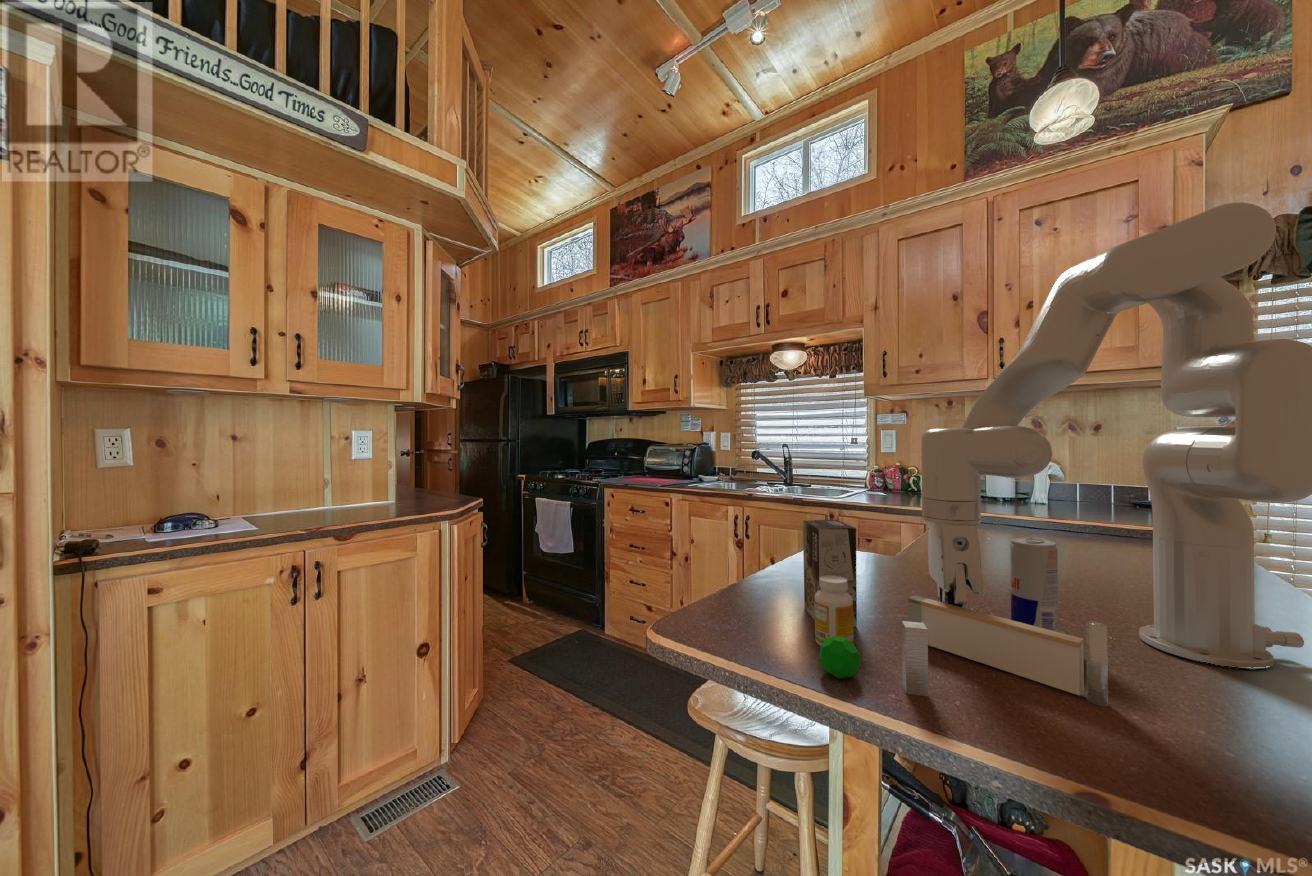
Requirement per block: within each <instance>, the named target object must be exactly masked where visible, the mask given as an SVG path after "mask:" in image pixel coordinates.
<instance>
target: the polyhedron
mask: <svg viewBox="0 0 1312 876" xmlns="http://www.w3.org/2000/svg"><path fill="white" fill-rule="evenodd" d="M818 659H819V661H820V663H821V666H822V668H823V670H824V671H826V672H827V673H829V674H830V675H832V676H833V677H835V678H837V679H848V678H852V677H853V676H854V675H855V674H856V673H857V672H858V671H859V670H860V669H859V668H860V666H861V656H860V653H859V652H858V650H857V648H856V646H855V643H854V642H853V643H851V642H850V641H848V640H847V639H845V638H843V637H841V636H839V637H831V638H828V639H826V640H825V641H824V642H823V643H822V644H821V646H820V648H819V655H818Z"/></svg>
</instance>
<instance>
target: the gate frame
mask: <svg viewBox="0 0 1312 876" xmlns="http://www.w3.org/2000/svg"><path fill="white" fill-rule="evenodd" d="M1085 626H1086V627H1085V631H1086V632H1085V635H1086V636H1085V637H1086V639H1085V640H1086V641H1085V642H1086V700H1087V702H1088V703H1090V704H1092V705H1094V706H1098V707H1108V706H1109V672H1108V671H1109V669H1108V667H1109V665H1108V663H1109V662H1108V659H1109V657H1108V654H1109V653H1108V650H1109V649H1108V648H1109V647H1108V625H1107V624H1105V623H1103V622H1100V621H1099V622H1098V621H1094V620H1093V621H1092V620H1091V621H1090V620H1089V621H1088V620H1087V621H1085ZM901 644H902V645H901V650H902V651H901V653H902V656H901V657H902V660H901V661H902V662H901V663H902V664H901V665H902V666H901V667H902V688H903V690H904V692H905V694H906V695H913V696H923V697H929V645H928V629H927V627H926V626H925V624H924V623H919V622H909V621H907V620H902V621H901Z"/></svg>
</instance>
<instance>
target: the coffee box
mask: <svg viewBox="0 0 1312 876" xmlns="http://www.w3.org/2000/svg"><path fill="white" fill-rule="evenodd" d="M802 542H803V543H802V544H803V545H802V547H803V550H802V552H803V553H802V554H803V556H802V557H803V594H804V596H803V598H804V602H803V603H804V606H803V607H804V609H805V611H807V614H809V616H811V618H812V619H813V620H814V621H815V594H816V592H817V591H819V590H821V588H820V587H819V578H820V577H821V576H826V575H833V576H840V577H843V578H846V579H847V583H848V588H847V591H846V592H847V593H848V594H849V595H850V596H851V597H852V600H853V628H855V627H856V628H857V625H858V621H857V620H858V613H857V612H858V610H857V607H858V606H857V605H858V604H857V602H858V601H857V600H858V598H857V594H858V593H857V528H856V527H855V526H851V525H850V524H848V523H846V522H843V521H841V520H838V519H815V520H802Z"/></svg>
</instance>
